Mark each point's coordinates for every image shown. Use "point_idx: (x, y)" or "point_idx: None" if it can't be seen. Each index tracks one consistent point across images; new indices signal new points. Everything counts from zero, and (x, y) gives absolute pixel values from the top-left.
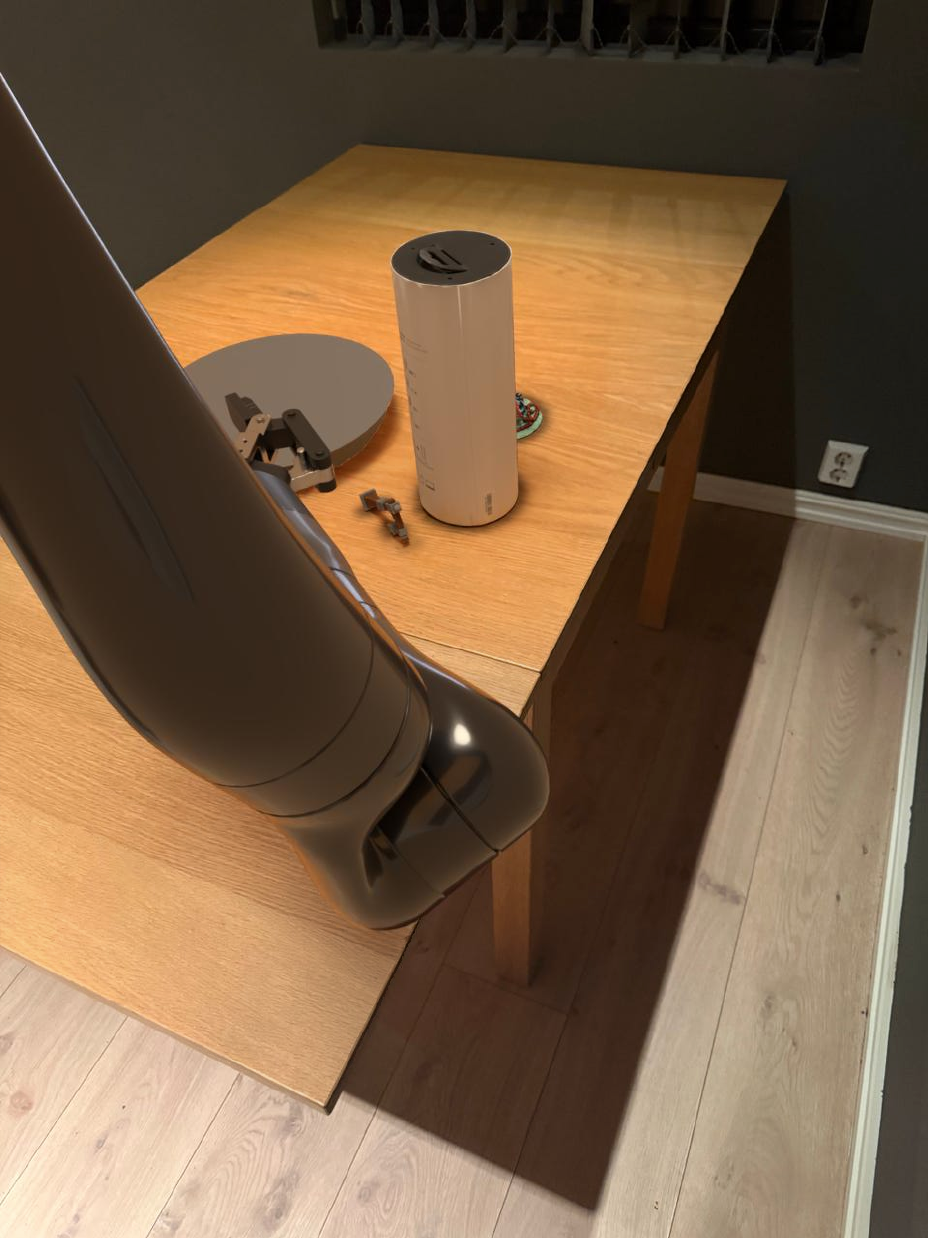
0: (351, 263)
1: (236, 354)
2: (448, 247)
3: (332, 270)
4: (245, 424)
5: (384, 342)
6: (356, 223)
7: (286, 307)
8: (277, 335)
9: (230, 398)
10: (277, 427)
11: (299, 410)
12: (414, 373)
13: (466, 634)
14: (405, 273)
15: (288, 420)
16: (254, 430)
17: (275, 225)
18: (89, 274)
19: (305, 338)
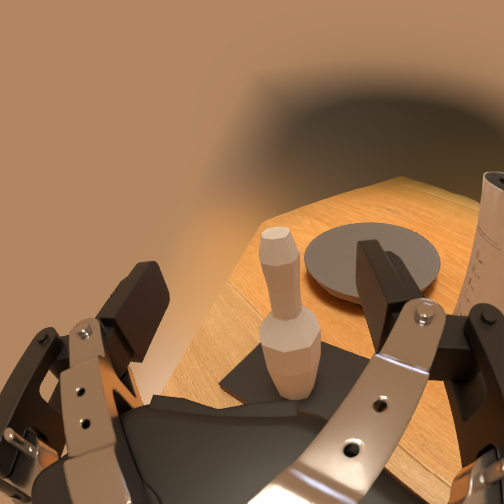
0: (415, 203)
1: (360, 227)
2: None
3: (407, 204)
4: (384, 312)
5: (429, 239)
6: (417, 190)
7: (385, 214)
8: (382, 223)
9: (366, 248)
10: (451, 342)
11: (500, 312)
12: (483, 263)
13: (442, 462)
14: (499, 186)
15: (485, 336)
16: (408, 347)
17: (385, 185)
18: None
19: (395, 227)
